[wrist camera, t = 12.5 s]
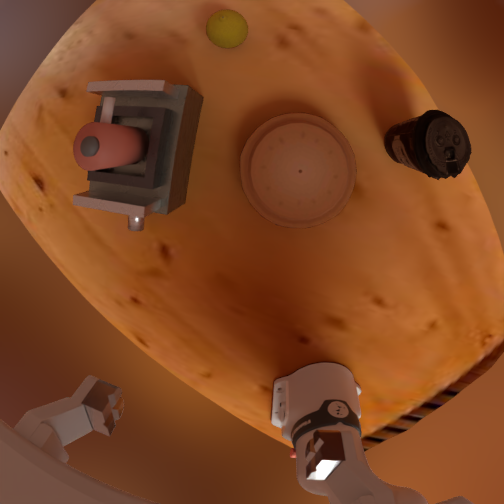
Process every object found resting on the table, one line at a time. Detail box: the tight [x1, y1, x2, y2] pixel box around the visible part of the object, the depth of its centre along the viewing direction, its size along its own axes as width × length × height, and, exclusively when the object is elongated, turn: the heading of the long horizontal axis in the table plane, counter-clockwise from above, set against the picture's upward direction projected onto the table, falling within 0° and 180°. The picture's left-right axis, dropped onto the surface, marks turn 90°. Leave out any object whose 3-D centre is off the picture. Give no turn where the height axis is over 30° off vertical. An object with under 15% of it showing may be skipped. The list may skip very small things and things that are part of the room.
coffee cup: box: [385, 110, 471, 180], centre depth 30 cm, size 9×8×13 cm
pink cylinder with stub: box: [73, 97, 149, 171], centre depth 26 cm, size 8×5×10 cm, turn 169°
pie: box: [240, 113, 357, 228], centre depth 36 cm, size 16×16×5 cm
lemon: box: [206, 10, 248, 48], centre depth 29 cm, size 6×6×8 cm
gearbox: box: [73, 80, 204, 231], centre depth 33 cm, size 20×12×13 cm, turn 169°
